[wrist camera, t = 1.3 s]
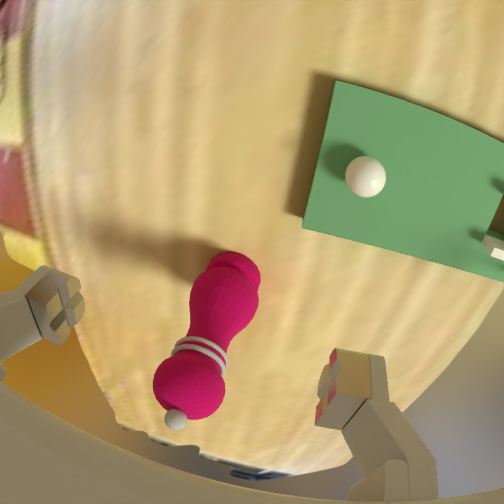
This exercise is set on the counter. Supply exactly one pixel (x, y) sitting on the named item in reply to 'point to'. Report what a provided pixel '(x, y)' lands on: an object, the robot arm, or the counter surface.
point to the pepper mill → (207, 340)
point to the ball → (365, 176)
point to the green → (410, 182)
